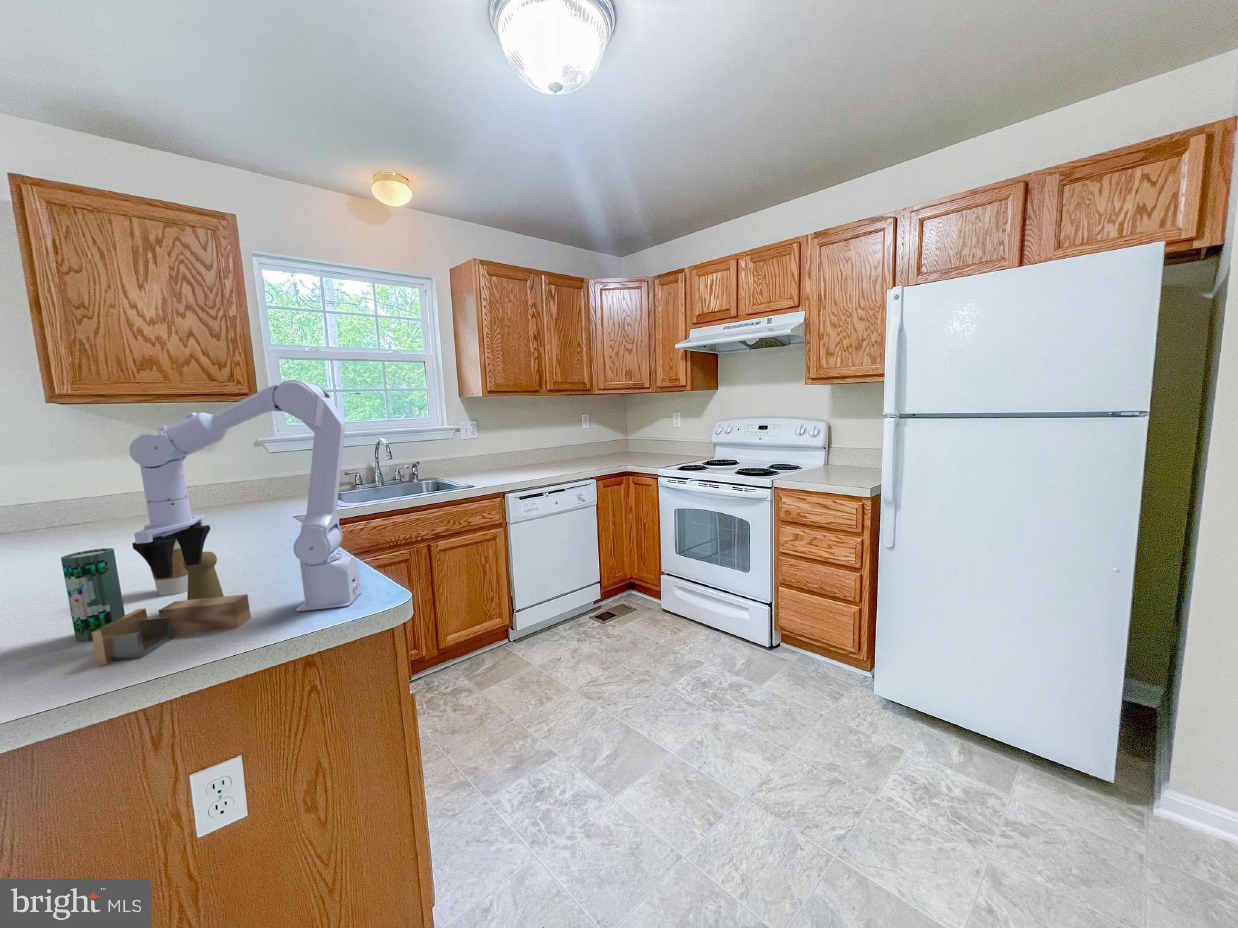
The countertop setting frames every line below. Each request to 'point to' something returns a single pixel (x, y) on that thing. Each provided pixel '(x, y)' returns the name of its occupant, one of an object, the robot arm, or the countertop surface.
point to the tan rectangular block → (207, 614)
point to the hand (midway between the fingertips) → (179, 570)
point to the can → (92, 590)
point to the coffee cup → (179, 576)
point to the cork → (203, 578)
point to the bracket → (131, 637)
